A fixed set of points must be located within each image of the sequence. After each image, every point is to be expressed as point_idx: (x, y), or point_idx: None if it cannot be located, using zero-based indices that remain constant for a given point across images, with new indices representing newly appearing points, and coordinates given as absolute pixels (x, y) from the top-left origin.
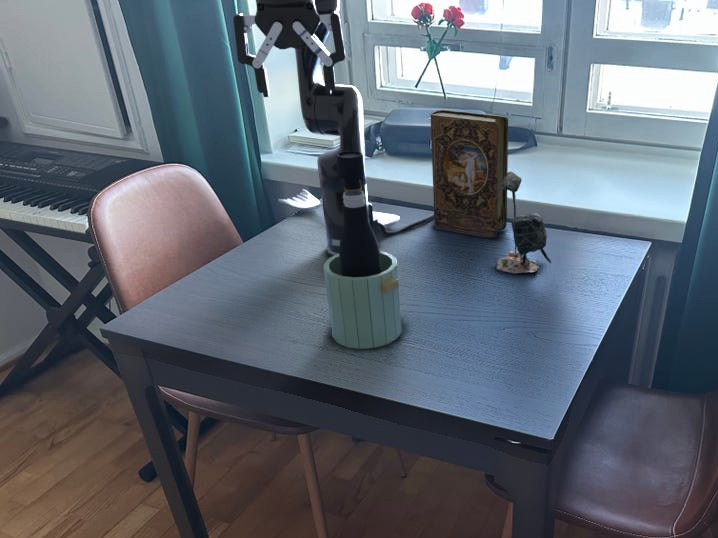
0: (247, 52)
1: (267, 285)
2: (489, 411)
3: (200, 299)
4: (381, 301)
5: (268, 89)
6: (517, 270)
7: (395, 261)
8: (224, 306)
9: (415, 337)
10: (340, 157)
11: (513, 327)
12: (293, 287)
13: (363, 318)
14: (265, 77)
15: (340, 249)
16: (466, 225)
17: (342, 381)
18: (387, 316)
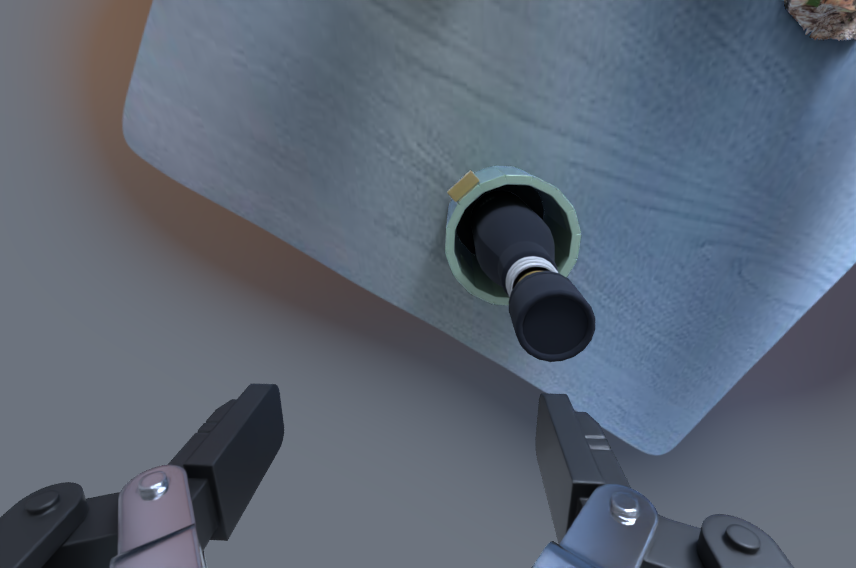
0: (50, 549)
1: (324, 9)
2: (616, 415)
3: (219, 56)
4: None
5: (270, 424)
6: (827, 22)
7: (577, 245)
8: (267, 93)
9: None
10: (526, 350)
11: (719, 242)
12: (373, 27)
13: None
14: (247, 504)
15: (480, 263)
16: None
17: (460, 335)
18: None
